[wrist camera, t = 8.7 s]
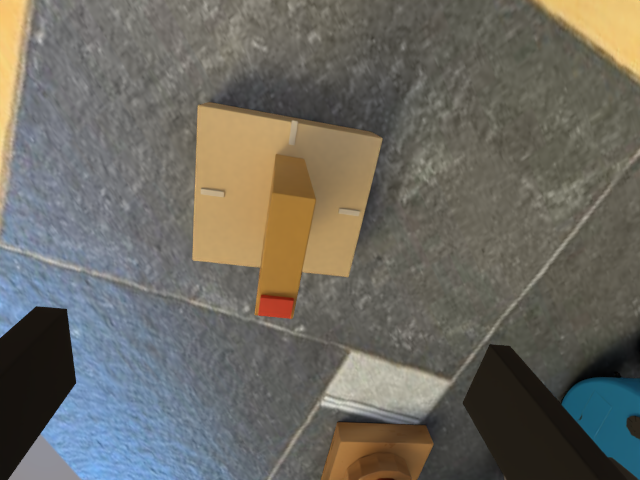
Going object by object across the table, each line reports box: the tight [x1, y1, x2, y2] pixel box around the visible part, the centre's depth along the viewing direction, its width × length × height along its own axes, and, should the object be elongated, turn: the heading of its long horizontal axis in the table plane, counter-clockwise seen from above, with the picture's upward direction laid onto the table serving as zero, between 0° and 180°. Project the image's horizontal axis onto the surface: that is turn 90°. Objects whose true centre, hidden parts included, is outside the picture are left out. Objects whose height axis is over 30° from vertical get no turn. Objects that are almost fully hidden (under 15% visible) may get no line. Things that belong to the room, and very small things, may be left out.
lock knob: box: [255, 154, 316, 319], centre depth 18 cm, size 6×2×8 cm, turn 169°
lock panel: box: [192, 102, 383, 277], centre depth 23 cm, size 11×10×3 cm
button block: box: [321, 422, 434, 480], centre depth 37 cm, size 10×10×4 cm
